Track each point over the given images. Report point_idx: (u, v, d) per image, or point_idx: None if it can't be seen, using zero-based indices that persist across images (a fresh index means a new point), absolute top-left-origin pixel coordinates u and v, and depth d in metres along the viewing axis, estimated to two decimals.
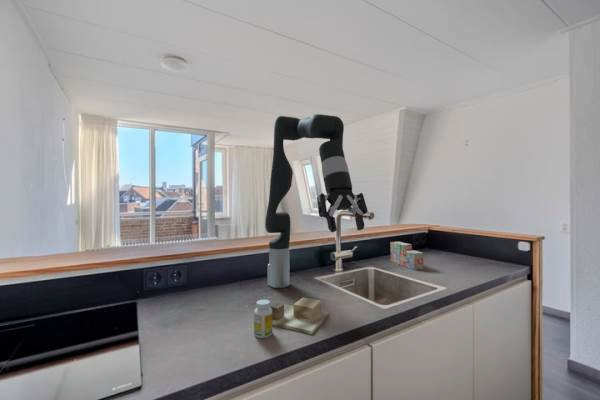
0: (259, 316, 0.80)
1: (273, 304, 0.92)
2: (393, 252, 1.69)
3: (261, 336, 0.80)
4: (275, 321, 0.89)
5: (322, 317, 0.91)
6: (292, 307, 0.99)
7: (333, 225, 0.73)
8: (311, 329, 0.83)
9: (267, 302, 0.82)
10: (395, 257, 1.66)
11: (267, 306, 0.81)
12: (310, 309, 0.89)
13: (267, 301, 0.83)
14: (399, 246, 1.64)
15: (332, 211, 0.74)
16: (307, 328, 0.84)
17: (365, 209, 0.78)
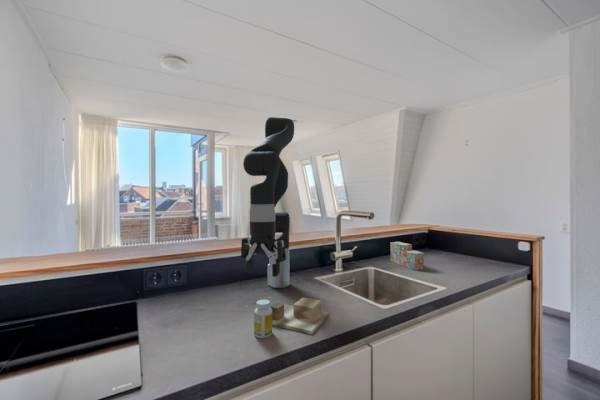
0: (259, 316, 0.80)
1: (273, 304, 0.92)
2: (393, 252, 1.68)
3: (261, 336, 0.80)
4: (275, 321, 0.89)
5: (322, 317, 0.91)
6: (292, 307, 0.99)
7: None
8: (311, 329, 0.83)
9: (267, 302, 0.82)
10: (396, 257, 1.66)
11: (267, 306, 0.81)
12: (310, 309, 0.89)
13: (267, 301, 0.83)
14: (399, 246, 1.63)
15: (248, 256, 0.83)
16: (307, 328, 0.84)
17: (279, 259, 0.78)
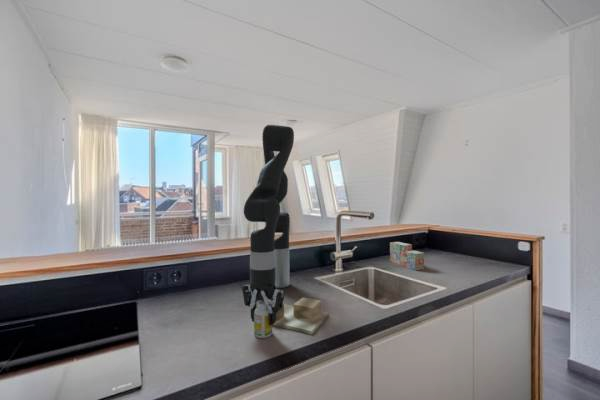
0: (259, 316, 0.80)
1: None
2: (393, 252, 1.68)
3: (261, 336, 0.80)
4: None
5: (322, 317, 0.91)
6: (292, 307, 0.99)
7: (252, 316, 0.83)
8: (311, 329, 0.83)
9: None
10: (395, 257, 1.65)
11: None
12: (310, 309, 0.89)
13: None
14: (399, 246, 1.63)
15: (252, 304, 0.83)
16: (307, 328, 0.84)
17: (275, 309, 0.79)
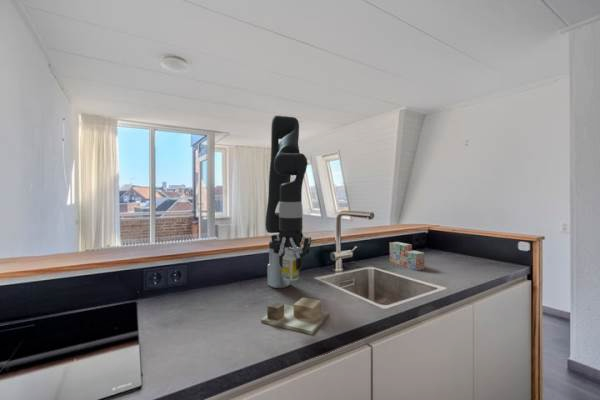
0: (287, 260, 0.87)
1: (273, 304, 0.92)
2: (392, 252, 1.67)
3: (289, 279, 0.87)
4: (275, 321, 0.89)
5: (322, 317, 0.91)
6: (292, 307, 0.99)
7: (280, 263, 0.91)
8: (311, 329, 0.83)
9: None
10: (395, 257, 1.65)
11: None
12: (310, 309, 0.89)
13: None
14: (399, 246, 1.62)
15: (280, 251, 0.90)
16: (307, 328, 0.84)
17: (303, 253, 0.86)
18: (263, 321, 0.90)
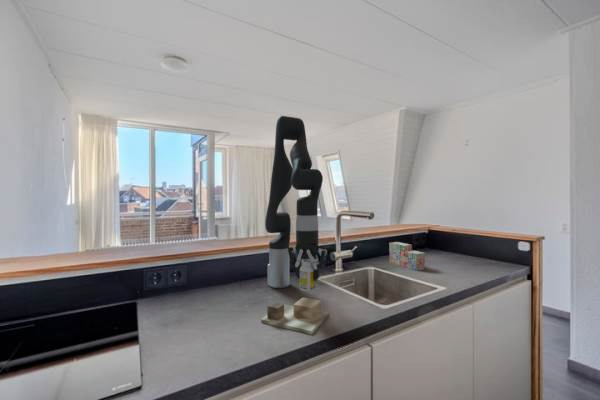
0: (305, 272, 0.91)
1: (273, 304, 0.92)
2: (392, 253, 1.67)
3: (307, 289, 0.91)
4: (275, 321, 0.89)
5: (322, 317, 0.91)
6: (292, 307, 0.99)
7: (297, 274, 0.94)
8: (311, 329, 0.83)
9: None
10: (395, 257, 1.65)
11: (311, 264, 0.92)
12: (310, 309, 0.89)
13: None
14: (399, 246, 1.62)
15: (297, 263, 0.94)
16: (307, 328, 0.84)
17: (320, 265, 0.90)
18: (263, 321, 0.90)
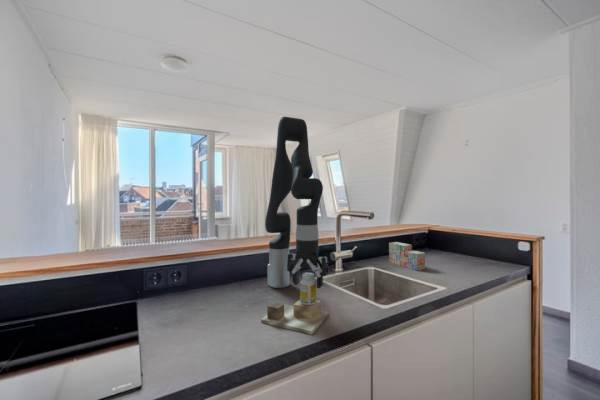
0: (305, 285, 0.91)
1: (273, 304, 0.92)
2: (392, 253, 1.67)
3: (307, 303, 0.91)
4: (275, 321, 0.89)
5: (322, 317, 0.91)
6: (292, 307, 0.99)
7: (294, 280, 0.95)
8: (311, 329, 0.83)
9: (312, 274, 0.93)
10: (395, 258, 1.64)
11: (312, 277, 0.92)
12: (310, 309, 0.89)
13: (311, 273, 0.94)
14: (399, 246, 1.62)
15: (294, 270, 0.94)
16: (307, 328, 0.84)
17: (323, 273, 0.89)
18: (263, 321, 0.90)
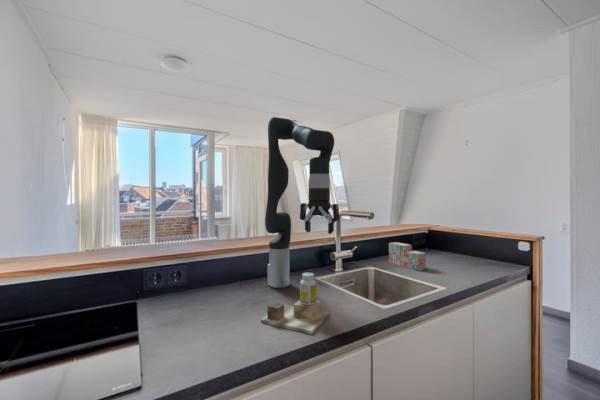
0: (305, 286, 0.91)
1: (273, 304, 0.92)
2: (392, 253, 1.66)
3: (307, 303, 0.91)
4: (275, 321, 0.89)
5: (322, 317, 0.91)
6: (292, 307, 0.99)
7: (306, 228, 1.00)
8: (311, 329, 0.83)
9: (312, 274, 0.93)
10: (395, 258, 1.64)
11: (312, 277, 0.92)
12: (310, 309, 0.89)
13: (311, 273, 0.94)
14: (399, 246, 1.61)
15: (307, 218, 1.00)
16: (307, 328, 0.84)
17: (334, 218, 0.95)
18: (263, 321, 0.90)
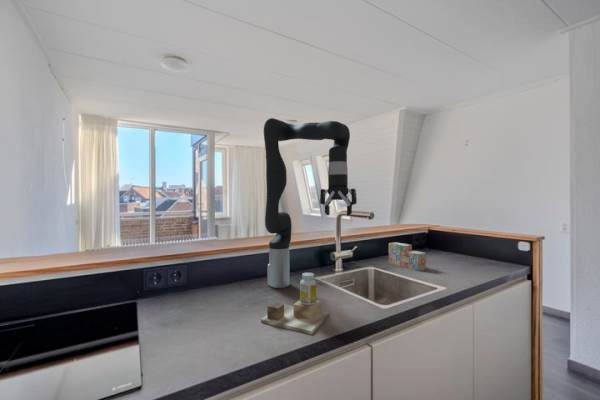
0: (305, 285, 0.91)
1: (273, 304, 0.92)
2: (392, 253, 1.66)
3: (307, 303, 0.91)
4: (275, 321, 0.89)
5: (322, 317, 0.91)
6: (292, 307, 0.99)
7: (326, 211, 1.10)
8: (311, 329, 0.83)
9: (312, 274, 0.93)
10: (395, 258, 1.63)
11: (312, 277, 0.92)
12: (310, 309, 0.89)
13: (311, 273, 0.94)
14: (399, 246, 1.61)
15: (326, 202, 1.10)
16: (307, 328, 0.84)
17: (353, 201, 1.05)
18: (263, 321, 0.90)
